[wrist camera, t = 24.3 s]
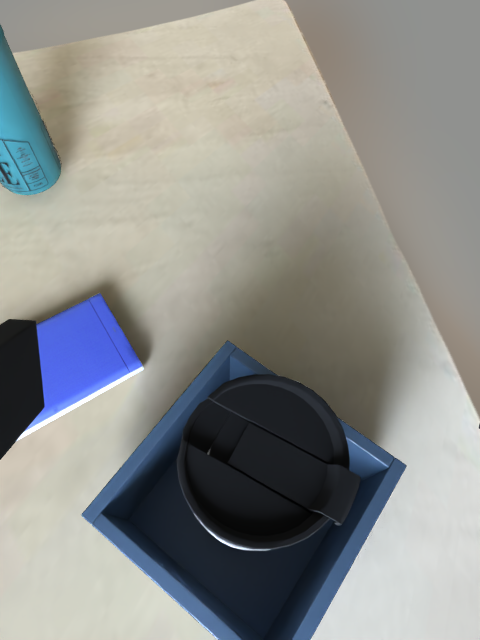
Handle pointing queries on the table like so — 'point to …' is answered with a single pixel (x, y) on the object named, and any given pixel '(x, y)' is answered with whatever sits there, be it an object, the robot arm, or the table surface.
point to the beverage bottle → (22, 134)
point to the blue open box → (224, 561)
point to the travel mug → (265, 463)
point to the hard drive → (81, 358)
